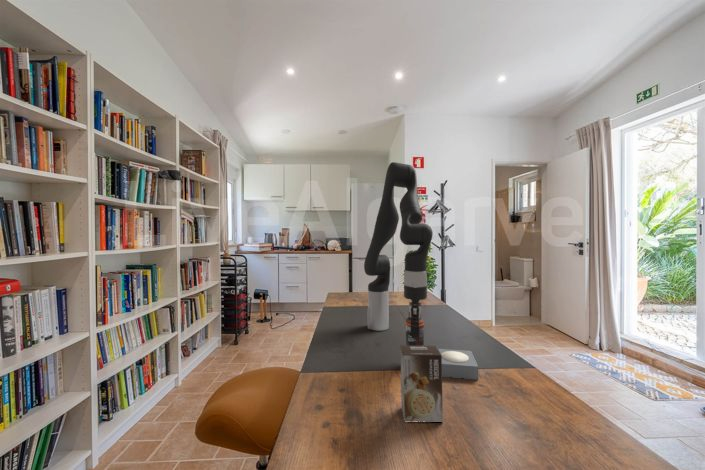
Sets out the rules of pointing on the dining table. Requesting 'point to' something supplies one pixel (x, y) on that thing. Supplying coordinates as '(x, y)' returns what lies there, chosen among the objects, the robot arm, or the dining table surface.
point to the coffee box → (421, 383)
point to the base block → (458, 364)
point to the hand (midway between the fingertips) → (414, 333)
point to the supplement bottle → (420, 339)
